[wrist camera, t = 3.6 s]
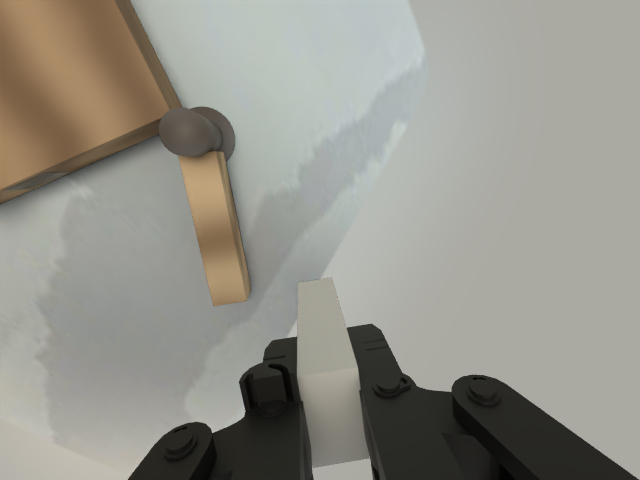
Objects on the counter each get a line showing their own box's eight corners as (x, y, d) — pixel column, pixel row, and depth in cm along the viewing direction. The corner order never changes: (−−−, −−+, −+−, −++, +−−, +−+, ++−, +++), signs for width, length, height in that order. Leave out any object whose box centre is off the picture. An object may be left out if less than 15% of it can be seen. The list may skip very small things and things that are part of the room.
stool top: (26, 250, 26) (-82, 284, 18) (-116, 41, 22) (-323, -21, 15) (244, 154, 25) (223, 150, 18) (137, -76, 21) (55, -201, 14)
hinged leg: (179, 120, 24) (153, 110, 19) (218, 115, 24) (200, 104, 19) (219, 293, 27) (204, 318, 23) (252, 288, 27) (244, 312, 23)
